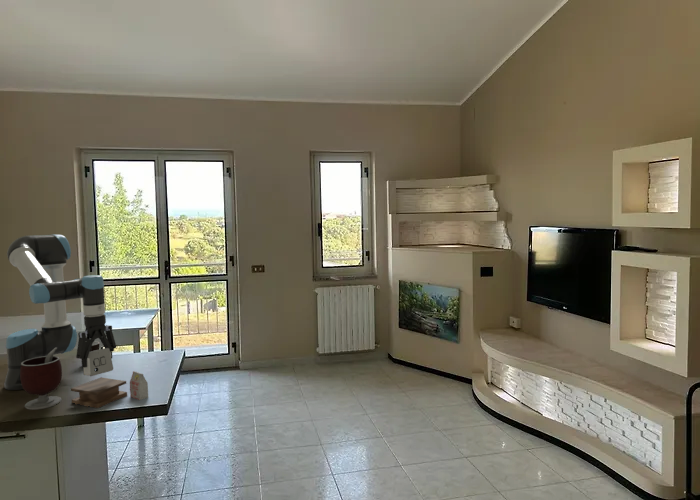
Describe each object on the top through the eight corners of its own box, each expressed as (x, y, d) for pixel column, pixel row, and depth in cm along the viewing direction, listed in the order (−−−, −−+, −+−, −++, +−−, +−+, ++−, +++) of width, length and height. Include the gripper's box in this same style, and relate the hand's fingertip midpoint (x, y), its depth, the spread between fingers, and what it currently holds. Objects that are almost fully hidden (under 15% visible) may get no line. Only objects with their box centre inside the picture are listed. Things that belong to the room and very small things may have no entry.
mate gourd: (45, 411, 191) (42, 358, 190) (13, 409, 193) (9, 357, 192) (74, 396, 206) (71, 347, 205) (44, 394, 209) (41, 346, 207)
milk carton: (139, 394, 207) (137, 369, 207) (148, 397, 203) (147, 372, 203) (130, 396, 204) (129, 372, 204) (139, 400, 200) (138, 375, 200)
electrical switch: (90, 377, 196) (87, 353, 196) (84, 376, 199) (81, 352, 199) (114, 370, 203) (111, 347, 203) (107, 369, 207) (105, 347, 206)
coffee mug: (85, 361, 255) (84, 342, 254) (103, 360, 256) (102, 341, 255) (75, 368, 244) (74, 348, 243) (94, 367, 245) (93, 347, 244)
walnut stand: (71, 403, 198) (70, 388, 198) (101, 391, 211) (101, 377, 211) (97, 408, 193) (96, 392, 192) (127, 395, 206) (126, 381, 205)
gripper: (76, 321, 188) (80, 380, 190) (124, 310, 208) (127, 364, 210) (62, 320, 191) (66, 378, 193) (110, 309, 211) (113, 362, 213)
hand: (98, 371), depth 201 cm, fingers closed on electrical switch, 9 cm apart
